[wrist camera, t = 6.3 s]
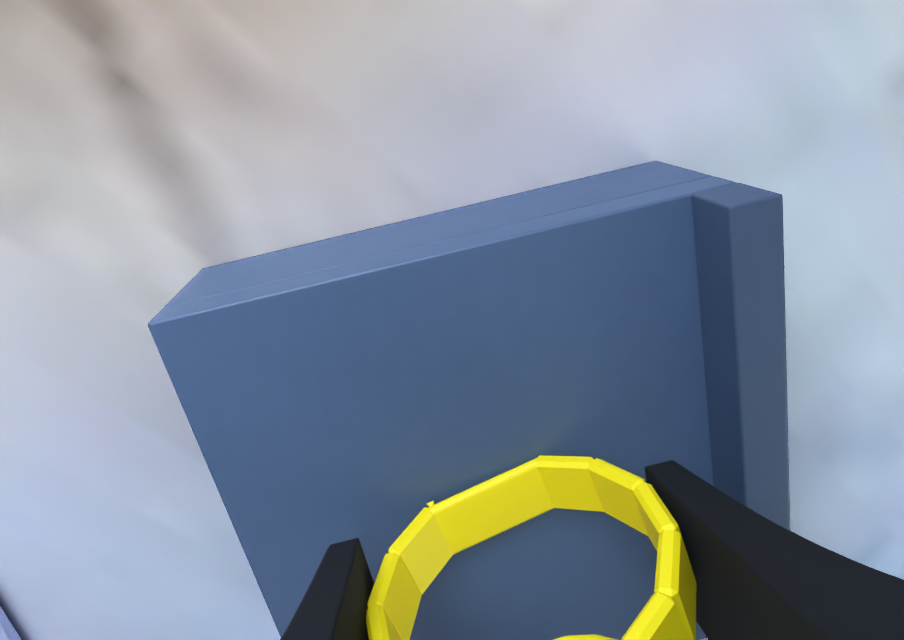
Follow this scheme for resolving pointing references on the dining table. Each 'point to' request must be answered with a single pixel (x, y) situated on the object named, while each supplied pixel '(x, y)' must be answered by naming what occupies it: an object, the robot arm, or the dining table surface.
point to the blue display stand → (493, 386)
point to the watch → (520, 499)
